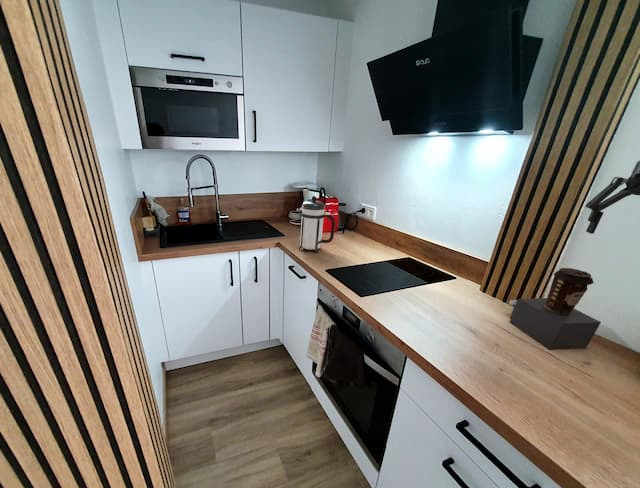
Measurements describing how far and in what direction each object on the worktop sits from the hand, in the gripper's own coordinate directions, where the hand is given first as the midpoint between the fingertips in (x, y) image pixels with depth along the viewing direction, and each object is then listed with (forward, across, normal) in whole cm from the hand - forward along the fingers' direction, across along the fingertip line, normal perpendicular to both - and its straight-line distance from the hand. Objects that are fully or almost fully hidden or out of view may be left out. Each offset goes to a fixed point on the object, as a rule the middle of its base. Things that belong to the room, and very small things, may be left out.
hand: (619, 235), depth 85 cm
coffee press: (+33, +105, -32) cm, 115 cm away
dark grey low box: (+33, +10, +10) cm, 36 cm away
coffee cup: (+23, +10, +10) cm, 27 cm away
